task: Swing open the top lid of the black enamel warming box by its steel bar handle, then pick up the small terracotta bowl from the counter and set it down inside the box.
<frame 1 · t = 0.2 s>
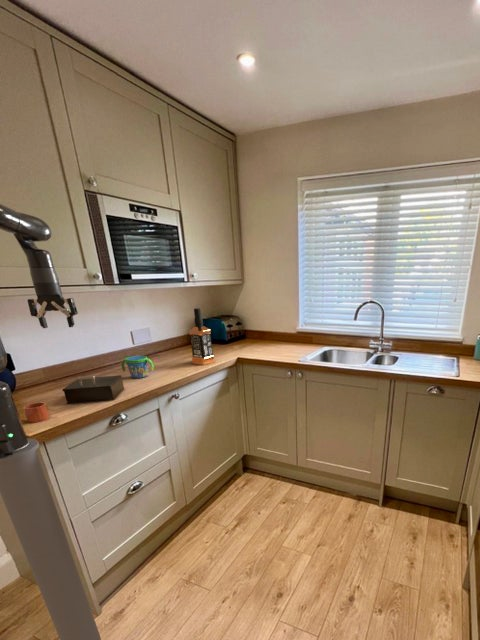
hand: (58, 327, 123), 32 cm above the countertop, tool pointing down, fingers open, 8 cm apart
black box base: (97, 395, 146), on the countertop
whiskey bottle: (203, 362, 202), on the countertop
warmer lid: (92, 378, 143), point 8 cm above the countertop, hinge at 0.0°
snack cup: (139, 377, 174), on the countertop
bowl: (38, 419, 122), on the countertop
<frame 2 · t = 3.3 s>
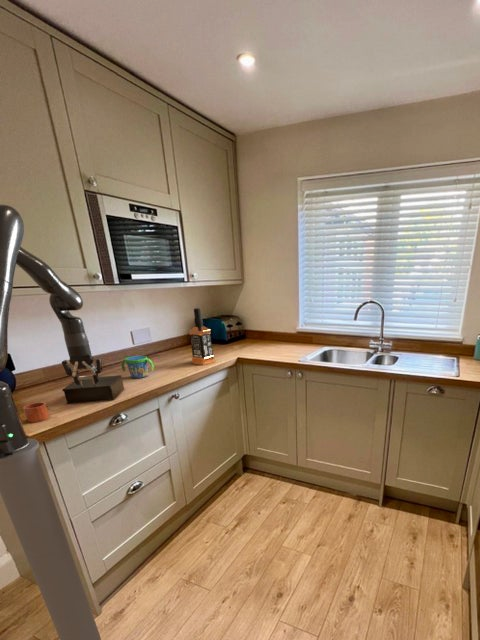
hand: (87, 383, 138), 8 cm above the countertop, tool pointing down, fingers closed on warmer lid, 6 cm apart
warmer lid: (92, 378, 143), point 8 cm above the countertop, hinge at 0.0°, touching gripper
everything else where it was.
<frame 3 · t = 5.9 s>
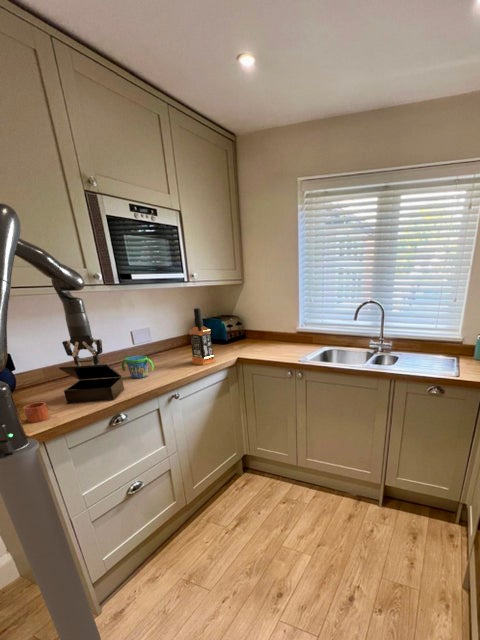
hand: (87, 364, 139), 15 cm above the countertop, tool pointing down, fingers closed on warmer lid, 6 cm apart
warmer lid: (92, 367, 143), point 12 cm above the countertop, hinge at 31.9°, touching gripper
everything else where it was.
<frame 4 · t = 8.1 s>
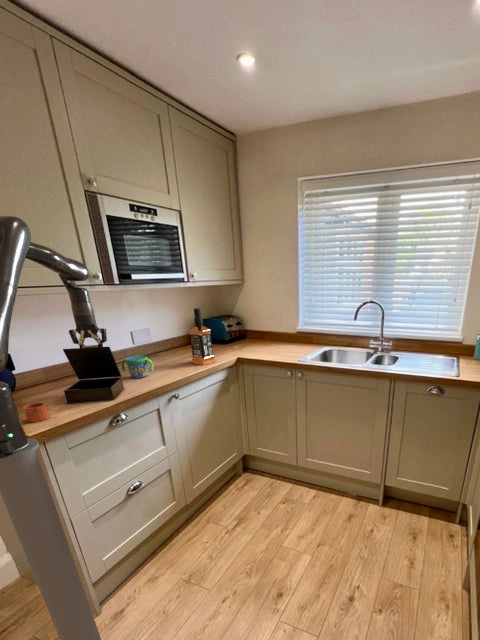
hand: (93, 352, 145), 18 cm above the countertop, tool pointing down, fingers closed on warmer lid, 6 cm apart
warmer lid: (94, 360, 147), point 15 cm above the countertop, hinge at 65.4°, touching gripper
everything else where it was.
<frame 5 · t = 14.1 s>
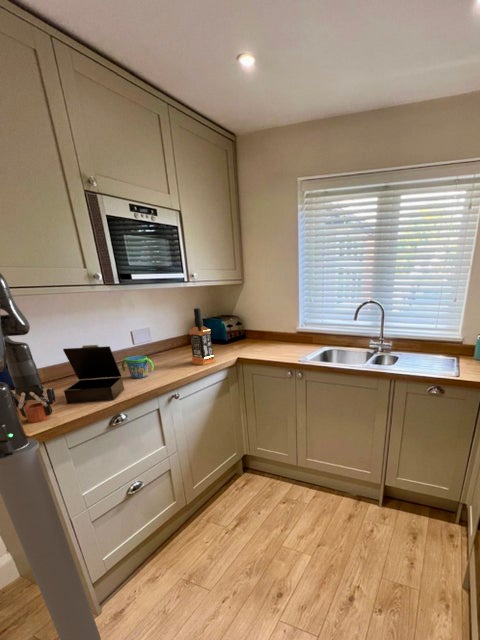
hand: (38, 415, 122), 1 cm above the countertop, tool pointing down, fingers closed on bowl, 6 cm apart
warmer lid: (94, 360, 147), point 15 cm above the countertop, hinge at 66.0°
bowl: (39, 419, 122), on the countertop, touching gripper
everything else where it was.
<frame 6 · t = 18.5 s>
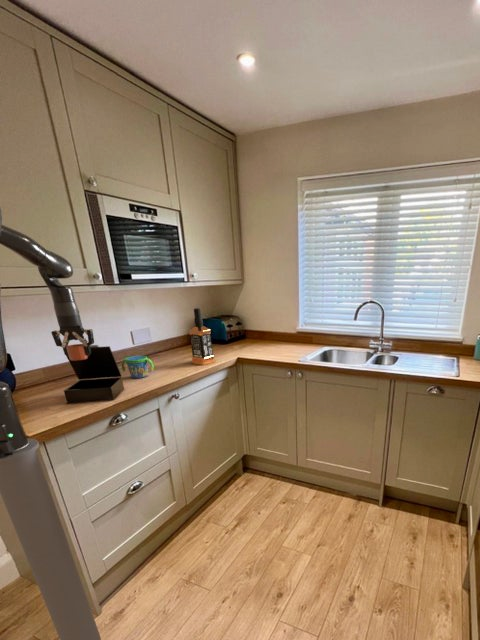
hand: (78, 355, 135), 19 cm above the countertop, tool pointing down, fingers closed on bowl, 6 cm apart
bowl: (79, 358, 135), point 18 cm above the countertop, touching gripper
everything else where it was.
when the fingers open (2 cm above the countertop, at t = 23.1 s): bowl stays where it is, resting on black box base.
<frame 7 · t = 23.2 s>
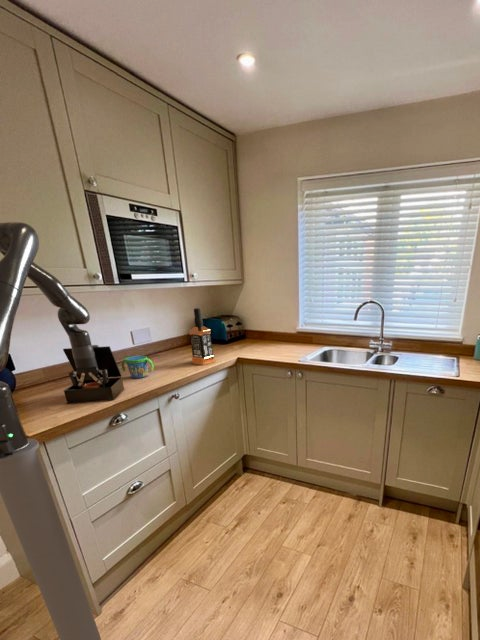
hand: (93, 393, 143), 2 cm above the countertop, tool pointing down, fingers open, 6 cm apart
bowl: (94, 396, 143), point 1 cm above the countertop, touching black box base
everything else where it was.
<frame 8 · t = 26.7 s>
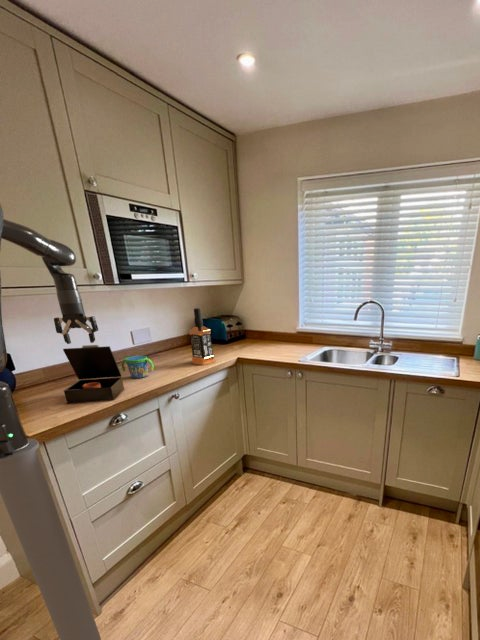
hand: (80, 343, 135), 24 cm above the countertop, tool pointing down, fingers open, 8 cm apart
nothing on the countertop moved.
at the end: warmer lid at +66° (first picture: +0°); bowl inside the target area in the black box base (3.1 cm from its centre), point 0.8 cm above the black box base's base; bowl tilted 0° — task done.
